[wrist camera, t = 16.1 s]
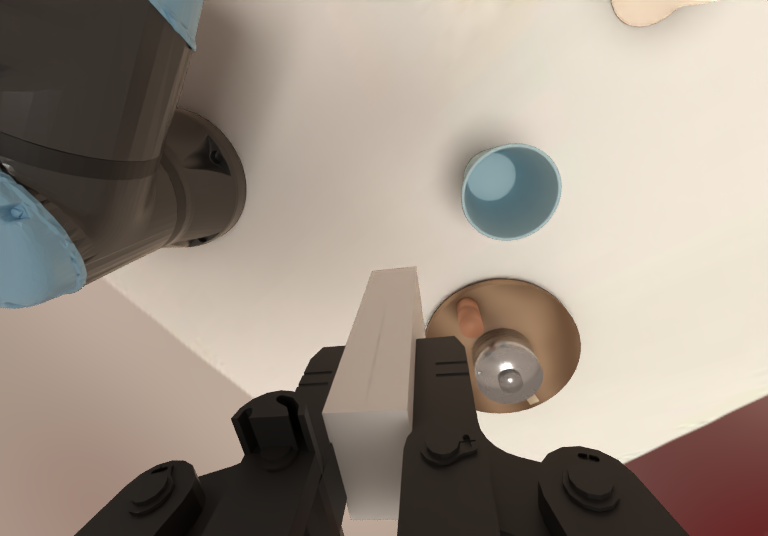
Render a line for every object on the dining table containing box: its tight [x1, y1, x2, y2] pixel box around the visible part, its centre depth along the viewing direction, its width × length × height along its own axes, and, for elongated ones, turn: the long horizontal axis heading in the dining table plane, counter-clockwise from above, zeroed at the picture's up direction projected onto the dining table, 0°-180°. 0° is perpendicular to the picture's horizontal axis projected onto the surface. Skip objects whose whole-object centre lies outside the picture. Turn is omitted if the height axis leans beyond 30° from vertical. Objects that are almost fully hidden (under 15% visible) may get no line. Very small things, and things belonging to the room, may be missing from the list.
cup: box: [461, 144, 561, 241], centre depth 34 cm, size 8×8×10 cm
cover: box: [472, 328, 543, 404], centre depth 41 cm, size 7×7×6 cm
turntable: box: [425, 279, 581, 413], centre depth 43 cm, size 18×18×6 cm
